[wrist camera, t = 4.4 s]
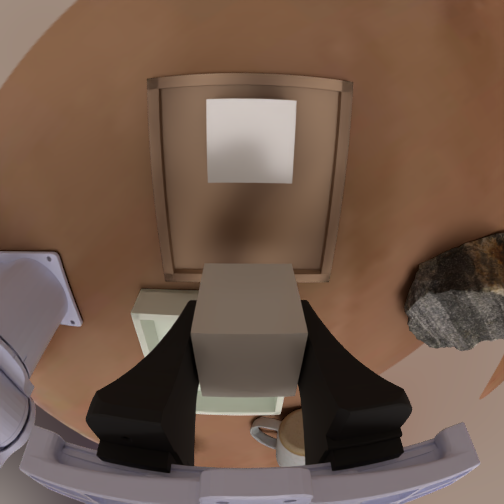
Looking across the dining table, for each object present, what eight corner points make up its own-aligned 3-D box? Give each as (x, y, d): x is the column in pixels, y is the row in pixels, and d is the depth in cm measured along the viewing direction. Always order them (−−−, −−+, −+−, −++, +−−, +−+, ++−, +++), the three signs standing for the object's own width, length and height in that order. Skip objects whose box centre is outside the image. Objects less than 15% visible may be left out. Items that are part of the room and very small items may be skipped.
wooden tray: (168, 273, 22) (165, 281, 22) (152, 79, 15) (147, 78, 15) (326, 274, 23) (328, 282, 22) (347, 82, 16) (353, 82, 15)
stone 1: (216, 161, 18) (207, 182, 14) (215, 98, 16) (206, 99, 12) (281, 162, 18) (292, 183, 14) (284, 99, 16) (296, 100, 12)
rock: (515, 220, 21) (571, 267, 12) (506, 309, 25) (541, 368, 16) (390, 248, 26) (416, 314, 17) (398, 337, 29) (411, 410, 21)
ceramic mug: (335, 399, 32) (346, 454, 25) (329, 427, 36) (337, 475, 29) (246, 408, 32) (245, 464, 26) (253, 435, 36) (253, 483, 30)
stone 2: (210, 326, 16) (202, 396, 12) (204, 263, 14) (190, 333, 10) (285, 326, 16) (294, 395, 12) (291, 263, 14) (307, 332, 10)
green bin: (168, 389, 30) (164, 411, 27) (141, 288, 23) (130, 312, 20) (278, 391, 30) (280, 414, 28) (292, 290, 23) (297, 316, 21)
